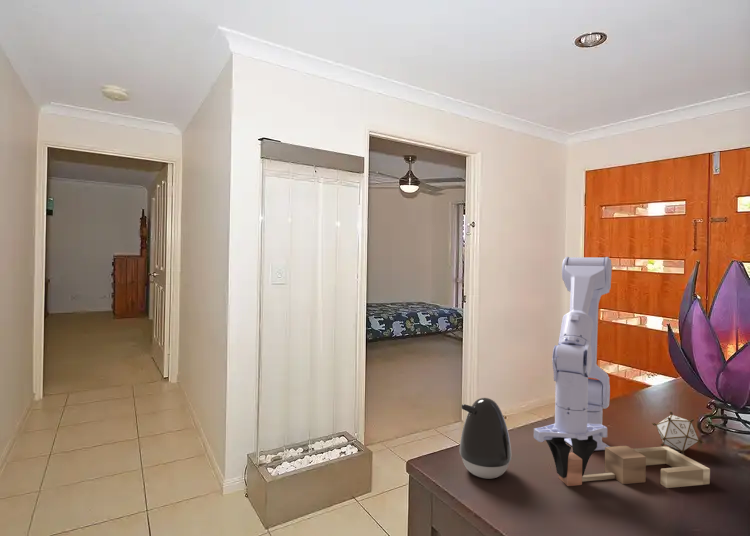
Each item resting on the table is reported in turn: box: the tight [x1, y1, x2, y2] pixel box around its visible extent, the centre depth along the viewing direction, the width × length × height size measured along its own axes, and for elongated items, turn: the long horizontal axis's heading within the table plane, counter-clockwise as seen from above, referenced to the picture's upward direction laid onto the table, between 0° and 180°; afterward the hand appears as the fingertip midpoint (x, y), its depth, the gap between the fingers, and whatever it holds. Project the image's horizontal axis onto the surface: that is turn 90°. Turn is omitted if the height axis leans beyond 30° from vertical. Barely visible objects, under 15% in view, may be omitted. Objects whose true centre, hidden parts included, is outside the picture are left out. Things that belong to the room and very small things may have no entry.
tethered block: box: [558, 445, 647, 487], centre depth 84 cm, size 5×16×5 cm, turn 100°
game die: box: [651, 410, 705, 455], centre depth 98 cm, size 9×8×10 cm
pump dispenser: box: [459, 397, 512, 480], centre depth 87 cm, size 10×10×15 cm
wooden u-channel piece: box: [632, 445, 711, 489], centre depth 87 cm, size 10×10×3 cm
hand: (570, 474), depth 83 cm, fingers open, 3 cm apart
